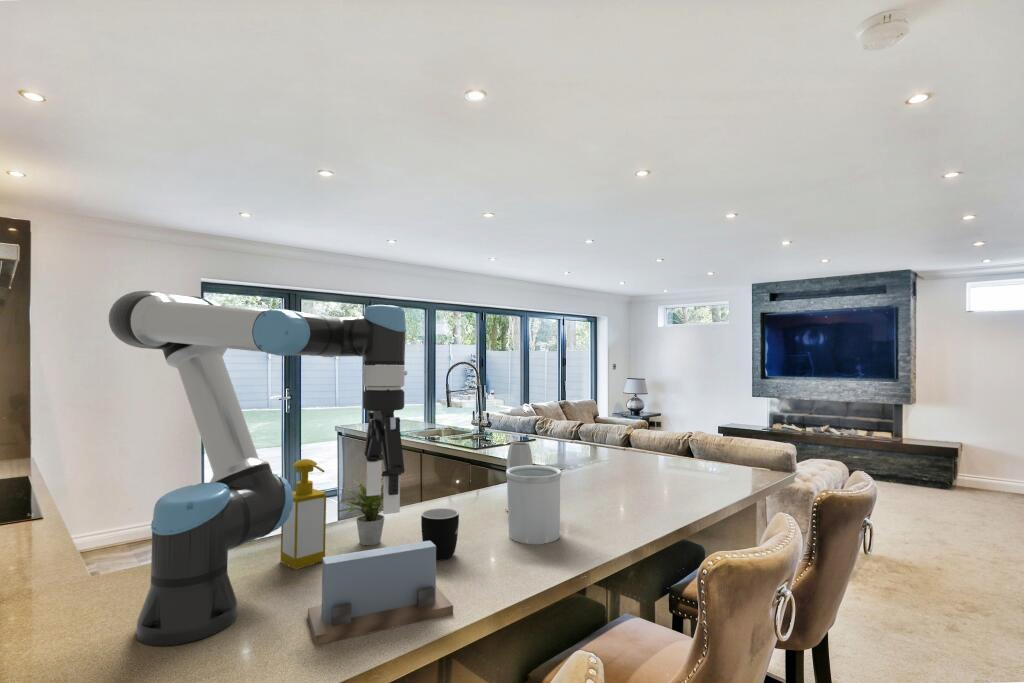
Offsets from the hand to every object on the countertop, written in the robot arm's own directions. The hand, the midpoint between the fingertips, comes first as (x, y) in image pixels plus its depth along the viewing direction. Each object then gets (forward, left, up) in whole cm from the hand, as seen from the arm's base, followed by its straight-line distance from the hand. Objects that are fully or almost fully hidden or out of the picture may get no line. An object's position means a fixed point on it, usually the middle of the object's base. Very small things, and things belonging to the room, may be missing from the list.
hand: (381, 503), depth 98 cm
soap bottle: (-9, +32, -20) cm, 39 cm away
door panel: (0, 0, -19) cm, 19 cm away
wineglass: (+55, +49, -20) cm, 76 cm away
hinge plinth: (0, 0, -20) cm, 20 cm away
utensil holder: (+47, +26, -20) cm, 57 cm away
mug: (+20, +25, -20) cm, 38 cm away
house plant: (+7, +42, -20) cm, 47 cm away
